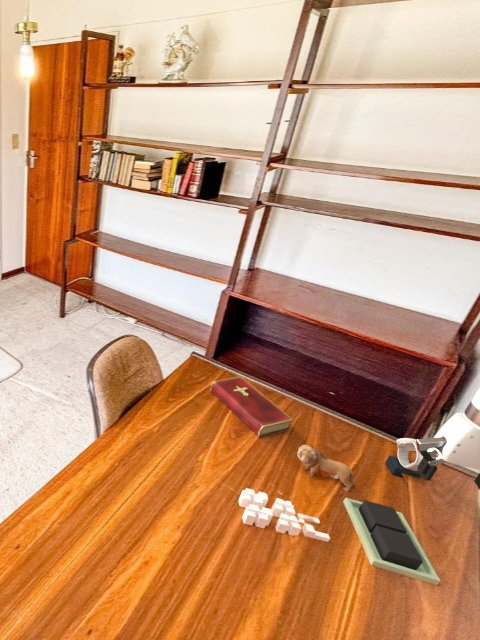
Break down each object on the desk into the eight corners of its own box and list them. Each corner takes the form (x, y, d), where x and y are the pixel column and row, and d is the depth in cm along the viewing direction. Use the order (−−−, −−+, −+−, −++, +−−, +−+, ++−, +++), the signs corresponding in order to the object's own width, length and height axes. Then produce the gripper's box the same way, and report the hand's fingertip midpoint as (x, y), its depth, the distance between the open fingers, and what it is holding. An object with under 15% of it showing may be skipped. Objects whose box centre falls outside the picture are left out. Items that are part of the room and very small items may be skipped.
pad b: (401, 544, 89) (408, 534, 87) (415, 571, 84) (423, 561, 82) (369, 535, 91) (376, 525, 89) (382, 561, 85) (389, 551, 84)
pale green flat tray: (398, 518, 95) (401, 512, 94) (436, 586, 82) (440, 581, 81) (342, 502, 98) (345, 497, 97) (370, 566, 85) (373, 560, 84)
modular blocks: (243, 523, 92) (248, 512, 91) (237, 497, 98) (241, 486, 97) (339, 548, 88) (346, 537, 86) (326, 519, 94) (332, 508, 92)
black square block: (387, 517, 95) (394, 507, 93) (400, 541, 89) (407, 531, 88) (358, 509, 96) (364, 499, 95) (369, 532, 91) (375, 522, 90)
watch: (405, 464, 110) (424, 435, 105) (419, 488, 103) (440, 458, 98) (381, 458, 112) (398, 429, 107) (393, 481, 105) (412, 451, 100)
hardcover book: (258, 437, 117) (262, 426, 115) (209, 390, 135) (212, 380, 133) (289, 429, 120) (293, 419, 118) (237, 385, 138) (241, 375, 136)
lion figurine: (291, 476, 105) (303, 452, 101) (287, 461, 109) (298, 437, 105) (357, 496, 100) (372, 472, 96) (350, 479, 105) (364, 455, 101)
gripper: (537, 416, 75) (491, 478, 83) (427, 396, 80) (392, 456, 87) (572, 446, 69) (519, 510, 76) (450, 422, 74) (410, 485, 81)
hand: (451, 481), depth 82 cm, fingers open, 9 cm apart
